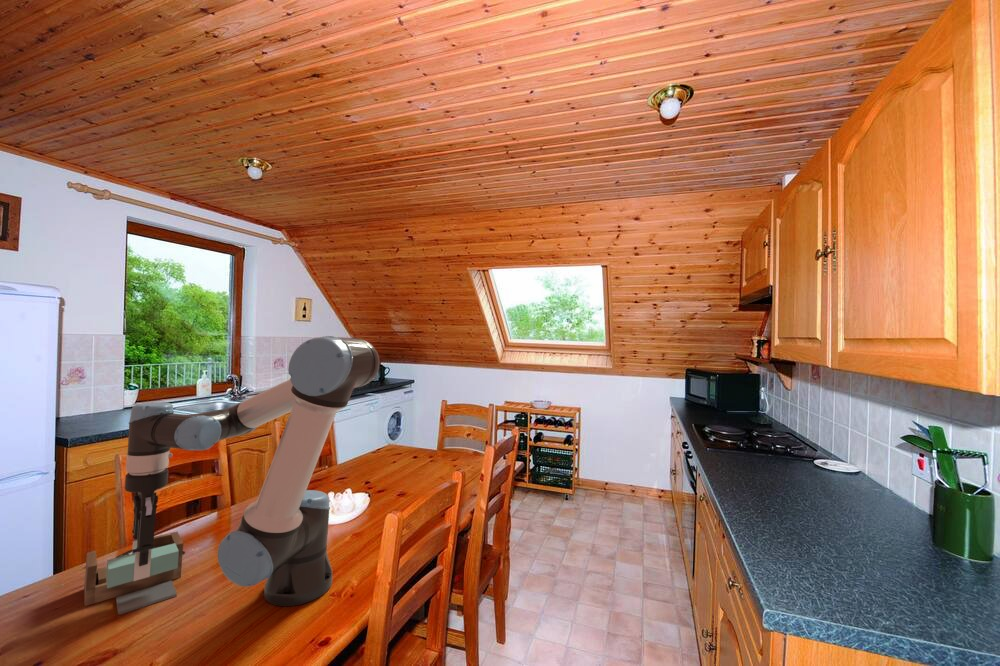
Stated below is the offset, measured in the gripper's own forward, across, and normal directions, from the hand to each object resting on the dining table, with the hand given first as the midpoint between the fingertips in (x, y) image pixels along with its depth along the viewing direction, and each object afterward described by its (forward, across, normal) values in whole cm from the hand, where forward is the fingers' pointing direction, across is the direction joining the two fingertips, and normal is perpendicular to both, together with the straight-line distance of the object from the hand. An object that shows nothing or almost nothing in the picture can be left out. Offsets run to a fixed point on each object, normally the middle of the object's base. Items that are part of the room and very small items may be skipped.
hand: (140, 572), depth 93 cm
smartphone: (+7, +22, -4) cm, 24 cm away
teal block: (0, 0, 0) cm, 1 cm away
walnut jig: (+6, +9, 0) cm, 11 cm away
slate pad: (+6, 0, -2) cm, 7 cm away
